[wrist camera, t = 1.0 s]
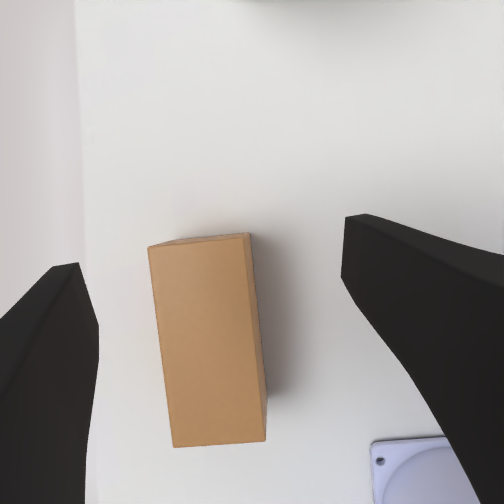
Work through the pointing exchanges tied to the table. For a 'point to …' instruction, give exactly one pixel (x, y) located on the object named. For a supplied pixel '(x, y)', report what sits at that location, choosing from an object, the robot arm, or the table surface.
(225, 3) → the table surface
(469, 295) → the robot arm
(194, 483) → the table surface
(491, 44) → the table surface
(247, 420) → the cardboard box
